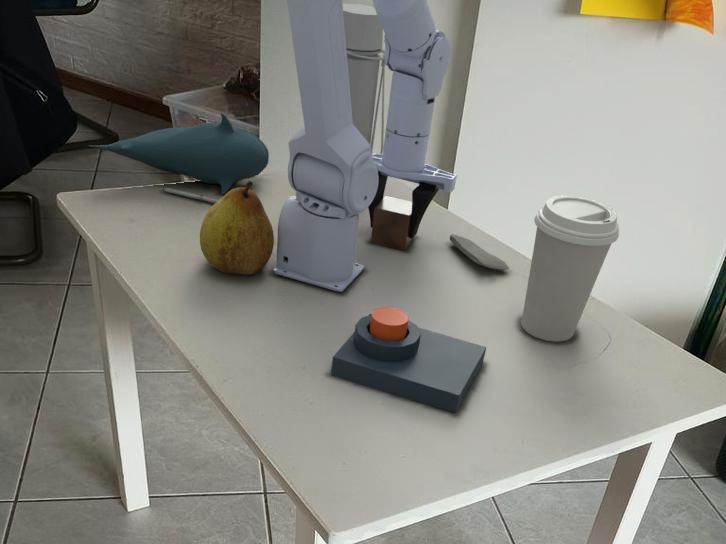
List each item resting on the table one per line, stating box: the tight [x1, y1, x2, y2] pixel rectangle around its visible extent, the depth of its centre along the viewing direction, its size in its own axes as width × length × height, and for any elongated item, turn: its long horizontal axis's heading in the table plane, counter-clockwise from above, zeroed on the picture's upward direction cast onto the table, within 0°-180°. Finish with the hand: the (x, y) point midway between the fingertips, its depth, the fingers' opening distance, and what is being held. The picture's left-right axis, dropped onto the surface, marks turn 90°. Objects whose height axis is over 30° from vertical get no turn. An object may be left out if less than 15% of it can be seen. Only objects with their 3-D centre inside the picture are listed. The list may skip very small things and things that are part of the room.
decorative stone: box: [449, 234, 510, 271], centre depth 113 cm, size 11×1×5 cm
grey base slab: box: [330, 313, 487, 414], centre depth 89 cm, size 14×11×4 cm
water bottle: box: [342, 3, 387, 154], centre depth 120 cm, size 9×8×25 cm
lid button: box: [369, 306, 410, 341], centre depth 88 cm, size 4×4×2 cm
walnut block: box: [370, 195, 415, 251], centre depth 114 cm, size 5×5×5 cm
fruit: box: [199, 180, 275, 276], centre depth 100 cm, size 9×9×12 cm
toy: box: [87, 113, 270, 195], centre depth 123 cm, size 11×26×15 cm
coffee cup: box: [521, 194, 620, 343], centre depth 96 cm, size 10×10×15 cm
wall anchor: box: [164, 187, 222, 204], centre depth 119 cm, size 1×9×1 cm, turn 71°
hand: (393, 230), depth 115 cm, fingers closed on walnut block, 5 cm apart
